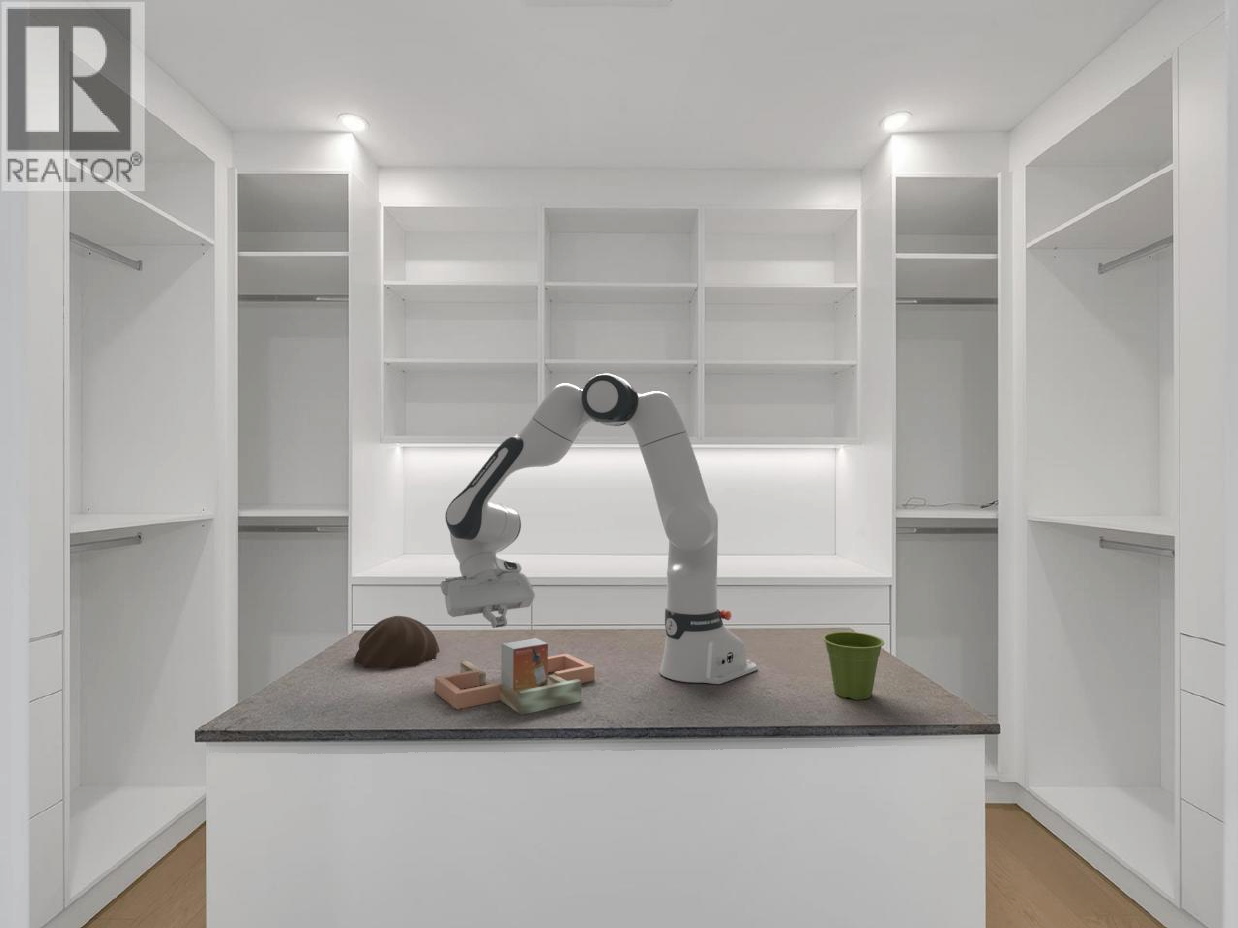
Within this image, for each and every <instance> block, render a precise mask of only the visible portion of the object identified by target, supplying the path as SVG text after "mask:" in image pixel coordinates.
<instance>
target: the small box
mask: <svg viewBox="0 0 1238 928" xmlns="http://www.w3.org/2000/svg"><path fill="white" fill-rule="evenodd" d="M500 656H501V665H500V666H501V667H500V668H501V674H500V675H501V676H500V678H501V679H500V680H501V684H500V685H503V684H504V685H506V686H507V687H509V688H511V689H512V690H514V691H515V692H517V693H518V691H522V690H527V689H532V688H537V687H541V686H546V685H548V675H549V672H548V657H549V644H548V643H547V642H545V641H543V640H541V639H539V638H537V637H533V638H530V639H523V640H517V641H512V642H502V643H501V655H500Z"/></svg>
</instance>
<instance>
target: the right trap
mask: <svg viewBox="0 0 1238 928" xmlns="http://www.w3.org/2000/svg"><path fill="white" fill-rule="evenodd" d="M553 672H554V673H553ZM548 673H553V674H555V675H557V676H559V677H561V678H562V679H564V680H566V681H570V680H575V679H579V680H581V684H583V683H588V682H594V681H595V680H596V679H595V678H596V677H595V665H592V664H590V663H588V662H586V661H583V660H582V659H579V658H577V657H575V656H573V655H571V654H569V653H561V654H556V655H551V656H548ZM593 680H594V681H593Z"/></svg>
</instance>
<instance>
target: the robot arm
mask: <svg viewBox="0 0 1238 928" xmlns="http://www.w3.org/2000/svg"><path fill="white" fill-rule="evenodd" d="M590 422H596V423H600V424H602V425H605V426H610V427H611V426H612V427H620V426H623V425H628V426H629V427H630V428H631V429H632V431H633V433H634V435H635V437H636V441H637V443H638V445H639V449H640V453H641V455H642V458H643V461H644V463H645V467H646V470H647V471H648V475H649V478H650V480H651V481H650V482H651V485H652V489H653V493H654V497H655V501H656V505H657V508H658V513H659V516H660V519H661V522H662V525H663V530H664V532H665V535H666V538H667V539H668V557H667V571H666V608H665V611H664V627H665V633H666V634H665V642H664V650H663V656H662V660H661V665H660V667H659V668H660V669H659V673H660V675H661V676H662V677H664V678H667V679H670V680H673V681H677V682H684V683H704V684H706V683H707V684H711V685H721V684H724V683H728V681H732V680H735V679H737V678H740V677H742V676H745V675H748V674H751V673H752V672H756V671H757V670H758V666H757V664H756V663H755V662H754V661H751V659H747V650H746V645H745V643H744V642H743V640H742V639H741V638H740V637H738V636H737V635H736V634H734V633H733V632H732V631H731V630H729V629H728V628H727V627H726V626H725V625H724V622H723V620H726V621H730V620H731V618H732V612H731V611H729V610H725V609H722V610H720V609H718V541H719V540H718V539H719V538H718V537H719V534H718V532H719V531H718V530H719V529H718V527H719V525H718V524H719V521H718V520H719V519H718V518H719V517H718V514H717V513H718V512H717V510H716V508H715V506H714V505H713V504H712V503H711V502H710V500H709V497H708V493H707V490H706V487H705V483H704V480H703V477H702V474H701V471H700V466H699V464H698V459H697V458H696V455H695V451H694V449H693V447H692V446H693V445H692V443H691V439H690V437H689V435H688V432H687V428H686V426H685V424H684V422H683V419H682V417H681V415H680V412H679V411H678V408H677V407H676V405H675V403H674V401H673V399H672V398H671V397H670V395H669V394H667V393H665V392H663V391H658V390H657V391H656V390H655V391H650V392H645V393H638V392H637V391H636V390H635V389H634V388H633V386H631V384H630V383H629V382H628V381H626V380H625V379H624V378H622V377H619V376H617V375H615V374H613V373H612V374H611V373H600V374H597V375H595V376H593V377H591V378H590V379H589V380H588V381H587V382H585V385H584V386H583V388H580V387H579V386H577V385H574V384H571V383H560V384H558V385H555V386H554V387H553V389H551V391H549V393H548V394H547V395H546V397H544V399H543V400H542V402H541V404H540V405H539V406H538V407H537V409H536V411H534V414H533V415H532V416H531V418H530V420H529V421H528V423H527V424H526V425H525V426H524V427H523V428H522V429H521V430H520V431H519V432H517V433H516V434H514V435H513V436H510V437H508V438H506V439H505V440H504V441H502V443H500V444H499V446H498V447H497V448H496V450H495V451H493V453H492V454H491V456H489V458H488V459H487V461H486V462H485V463H484V464H483V466H482V467H481V468H480V470H479V471H477V473H476V474H475V476H474V477H473V479H472V480H471V481H470V482H469V483H468V485H467V486H466V487H465V488H464V489H463V490H462V491H461V492H459V493H458V495H457V496H455V497H454V498H453V500H452V501H451V502H450V503H449V505H448V507H447V508H446V511H445V523H446V526H447V528H448V531H449V536H450V537H449V538H450V543H451V548H452V550H453V553H454V556H455V559H456V560H457V561H458V563H459V571H460V575H461V576H456V577H447V578H445V579H444V580H442V581H441V582H440V589H441V592H442V594H443V595H444V601H445V602H444V603H445V608H446V612H447V614H448V615H449V616H451V617H452V618H455V617H462V616H463V617H464V616H471V615H479V614H482V616H483V618H484V619H486V620H487V621H488V622H490V625H491V627H492V628H493V629H495V628H503V627H506V626H507V625H508V620H507V617H506V615H507V612H508V610H517V609H523V608H529V607H531V605H532V603H533V602H534V600H535V599H536V598H535V597H536V595H535V594H536V593H535V591H534V588H533V586H532V584H531V582H530V581H529V579H528V577H527V576H526V575H525V574H524V573H523V572H522V566H521V564H520V563H519V562H517V561H516V562H515V561H509V560H505V559H501V558H499V557H497V553H500V552H503V550H505V549H506V548H508V547H509V546H511V544H513V543H514V542H515V541H516V540H517V539H518V537H519V535H520V532H521V528H522V520H521V516H520V514H519V513H518V511H517V510H516V509H515V508H513V507H510V506H508V505H504V504H502V503H497V502H494V501H491V498H492V497H493V496H494V495H495V493H496V492H497V491H498V490H499V488H500V487H501V486H502V484H504V482H505V481H506V479H507V478H508V477H509V476H510V475H511V474H513V473H515V472H516V471H519V470H522V469H525V468H526V469H527V468H535V467H536V468H537V467H538V468H541V467H548V466H552V465H555V464H558V463H559V462H560V461H561V460H562V459H563V458H564V457H566V455H567V454H568V452H569V451H570V449H571V447H572V446H573V443H574V442H575V441H576V439H577V436H578V435H579V433H580V432H581V431H582V429H583V428H584V427H585V426H586V424H589V423H590ZM494 612H497V613H498V614H499V615H500V616H495V615H494Z"/></svg>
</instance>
